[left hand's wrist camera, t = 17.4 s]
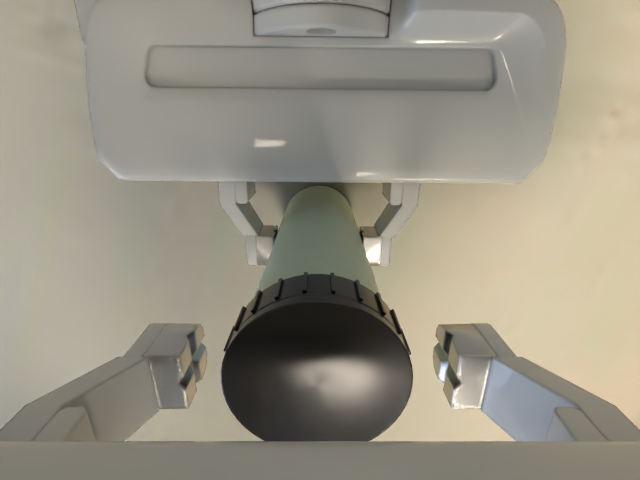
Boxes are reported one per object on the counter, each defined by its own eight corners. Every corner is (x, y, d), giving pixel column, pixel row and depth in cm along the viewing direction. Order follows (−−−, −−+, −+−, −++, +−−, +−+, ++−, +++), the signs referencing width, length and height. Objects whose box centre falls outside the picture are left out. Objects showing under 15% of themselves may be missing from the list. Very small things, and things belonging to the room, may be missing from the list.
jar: (340, 175, 22) (373, 274, 8) (360, 238, 24) (416, 407, 10) (274, 198, 23) (206, 325, 9) (298, 258, 24) (271, 444, 10)
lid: (225, 268, 9) (208, 297, 8) (412, 272, 9) (429, 301, 8) (237, 409, 11) (225, 454, 10) (393, 412, 11) (404, 456, 10)
